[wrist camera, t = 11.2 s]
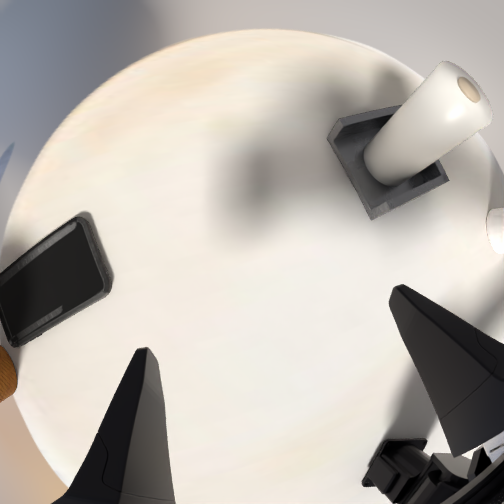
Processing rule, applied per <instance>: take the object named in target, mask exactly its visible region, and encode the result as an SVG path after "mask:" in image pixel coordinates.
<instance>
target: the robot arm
mask: <svg viewBox="0 0 504 504" xmlns="http://www.w3.org/2000/svg"><path fill="white" fill-rule="evenodd" d="M389 307H390V310H391V312H392V314H393V317H394V319H395V322H396V324H397V327H398V330H399V332H400V335H401V337H402V339H403V341H404V344H405V346H406V348H407V350H408V352H409V354H410V356H411V358H412V360H413V362H414V364H415V366H416V368H417V370H418V372H419V374H420V377H421V379H422V381H423V383H424V385H425V388H426V390H427V392H428V394H429V397H430V399H431V401H432V404H433V406H434V408H435V411H436V413H437V416H438V418H439V421H440V423H441V426H442V429H443V431H444V434H445V436H446V439H447V442H448V444H449V447H450V450H451V453H452V454H448V453H433V454H432V456H431V457H430V456H429V455H427V454H426V453H424V452H423V450H424V448H425V446H426V444H427V439H425V438H420V439H388V440H386V441H385V442H384V443H383V445H382V447H381V449H380V451H379V453H378V455H377V457H376V459H375V461H374V462H373V464H372V466H371V468H370V470H369V471H368V473H367V475H366V477H365V478H364V480H363V482H362V486H363V487H375V486H376V487H377V488H378V489H379V491H380V492H381V493H382V494H385V495H386V496H387V498H388V499H389V500H390V501H391V502H392V503H393V504H396V503H397V504H504V344H502V343H501V342H499V341H497V340H495V339H493V338H492V337H490V336H488V335H487V334H485V333H483V332H482V331H480V330H478V329H477V328H475V327H474V326H472V325H471V324H469V323H467V322H466V321H464V320H463V319H461V318H459V317H458V316H456V315H455V314H453V313H451V312H450V311H448V310H446V309H445V308H443V307H441V306H440V305H438V304H436V303H435V302H433V301H431V300H430V299H428V298H426V297H425V296H423V295H421V294H420V293H418V292H416V291H415V290H413V289H411V288H409V287H408V286H406V285H404V284H401V285H398V286H395V287H394V288H393V290H392V293H391V296H390V299H389ZM388 443H389V444H388ZM387 444H388V445H387ZM481 444H482V446H481V447H479V448H478V449H477V450H476V451H474V453H473V457H472V460H470V459H468V458H466V457H464V456H462V454H464V453H466V452H468V451H470V450H472V449H474V448H476V447H478V446H479V445H481ZM52 504H176V502H175V497H174V490H173V483H172V476H171V468H170V460H169V450H168V440H167V428H166V415H165V402H164V396H163V390H162V384H161V378H160V371H159V364H158V361H157V359H156V357H155V356H154V354H153V353H152V351H151V350H150V349H149V348H148V347H144V348H138V349H137V350H136V351H135V353H134V355H133V357H132V359H131V361H130V363H129V365H128V367H127V369H126V371H125V373H124V376H123V378H122V380H121V382H120V384H119V386H118V388H117V390H116V392H115V394H114V397H113V399H112V401H111V403H110V405H109V407H108V410H107V412H106V414H105V416H104V418H103V421H102V423H101V425H100V427H99V430H98V433H97V434H96V436H95V439H94V441H93V443H92V445H91V448H90V450H89V452H88V454H87V456H86V458H85V460H84V462H83V464H82V465H81V467H80V469H79V471H78V473H77V474H76V476H75V478H74V480H73V482H72V484H71V486H70V487H69V489H68V490H67V492H66V493H65V494H64V495H63V496H62V497H60V498H59V499H57V500H56V501H54V502H53V503H52Z"/></svg>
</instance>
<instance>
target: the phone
mask: <svg viewBox="0 0 504 504" xmlns="http://www.w3.org/2000/svg"><path fill="white" fill-rule="evenodd" d="M106 272H107V270H106V267H105V265H104V262H103V260H102V257H101V254H100V252H99V249H98V246H97V244H96V241H95V238H94V235H93V233H92V230H91V227H90V224H89V222H88V221H87V220H85V219H84V218H81V217H75V218H73V219H71V220H70V221H68V222H67V223H65V224H64V225H63V226H61V227H60V228H58V229H57V230H55V231H54V232H53V233H51V234H50V235H48V236H47V237H46V238H44V239H43V240H42V241H40V242H39V243H38V244H36V245H35V246H34V247H32V248H31V249H30V250H28V251H27V252H26V253H25V254H23V255H22V256H21V257H19V258H18V259H17V260H16V261H15V262H13V263H12V264H11V265H10V266H8V267H7V268H6V269H5V270H4V271H3V272H1V273H0V320H1V323H2V326H3V329H4V331H5V334H6V337H7V340H8V342H9V344H10V345H11V346H12V347H20V346H22V345H25V344H26V343H28V342H29V341H32V340H33V339H35V338H36V337H39V336H40V335H42V333H44V332H45V331H47V330H49V329H51V328H52V327H54V326H56V325H57V324H59V323H61V322H62V321H64V320H66V319H68V318H69V317H71V316H73V315H75V314H76V313H78V312H80V311H82V310H83V309H85V308H87V307H89V306H90V305H92V304H94V303H96V302H97V301H99V300H101V299H103V298H105V297H106V296H107V295H108V294H109V293H110V291H111V287H112V283H111V279H110V277H109V274H108V272H107V273H106Z"/></svg>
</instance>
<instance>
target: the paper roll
mask: <svg viewBox="0 0 504 504" xmlns="http://www.w3.org/2000/svg"><path fill="white" fill-rule="evenodd" d="M492 120H493V112H492V108H491V105H490V103H489V101H488V99H487V97H486V95H485V93H484V92H483V90H482V89H481V88H480V86H479V85H478V84H477V82H476V81H475V80H474V79H473V78H472V77H471V76H470V75H469V74H468V73H467V72H466V71H464V70H463V69H462V68H460V67H459V66H457V65H456V64H453V63H451V62H449V61H442V62H440V63H439V65H438V66H437V67H436V68H435V69H434V70H433V71H432V72H431V74H430V75H429V76H428V77H427V78H426V79H425V80H424V81H423V83H422V84H421V85H420V86H419V87H418V88H417V89H416V90H415V92H414V93H413V94H412V95H411V96H410V97H409V98H408V99H407V101H406V102H405V103H404V104H403V105H402V106H401V107H400V108H399V109H398V111H397V112H396V113H395V114H394V115H393V116H392V117H391V118H390V119H389V121H388V122H387V123H386V124H385V125H384V126H383V127H382V128H381V129H380V131H379V132H378V133H377V134H376V135H375V136H374V137H373V138H372V139H371V140H370V142H369V143H368V144H367V145H366V147H365V149H364V161H365V164H366V167H367V169H368V170H369V172H370V173H371V175H372V176H373V177H374V178H375V179H376V180H377V181H379V182H380V183H382V184H384V185H387V186H398V185H400V184H402V183H403V182H405V181H406V180H408V179H409V178H411V177H412V176H414V175H415V174H417V173H418V172H420V171H421V170H423V169H424V168H426V167H427V166H429V165H430V164H432V163H433V162H435V161H436V160H438V159H439V158H441V157H442V156H444V155H445V154H447V153H448V152H450V151H451V150H453V149H454V148H455V147H457V146H458V145H460V144H461V143H463V142H464V141H466V140H467V139H469V138H470V137H471V136H473V135H474V134H476V133H477V132H479V131H480V130H481V129H483V128H484V127H486V126H487V125H488V124H490V123H491V122H492Z"/></svg>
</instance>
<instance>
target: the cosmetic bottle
mask: <svg viewBox="0 0 504 504" xmlns="http://www.w3.org/2000/svg"><path fill="white" fill-rule="evenodd" d="M486 226H487V234H488V238H489V241H490V244H491V246H492V247H493V249H494V250H495V251H496V252H497V253H499V254H504V208H496V209H492V210H490V212H489V213H488V216H487V223H486Z"/></svg>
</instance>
